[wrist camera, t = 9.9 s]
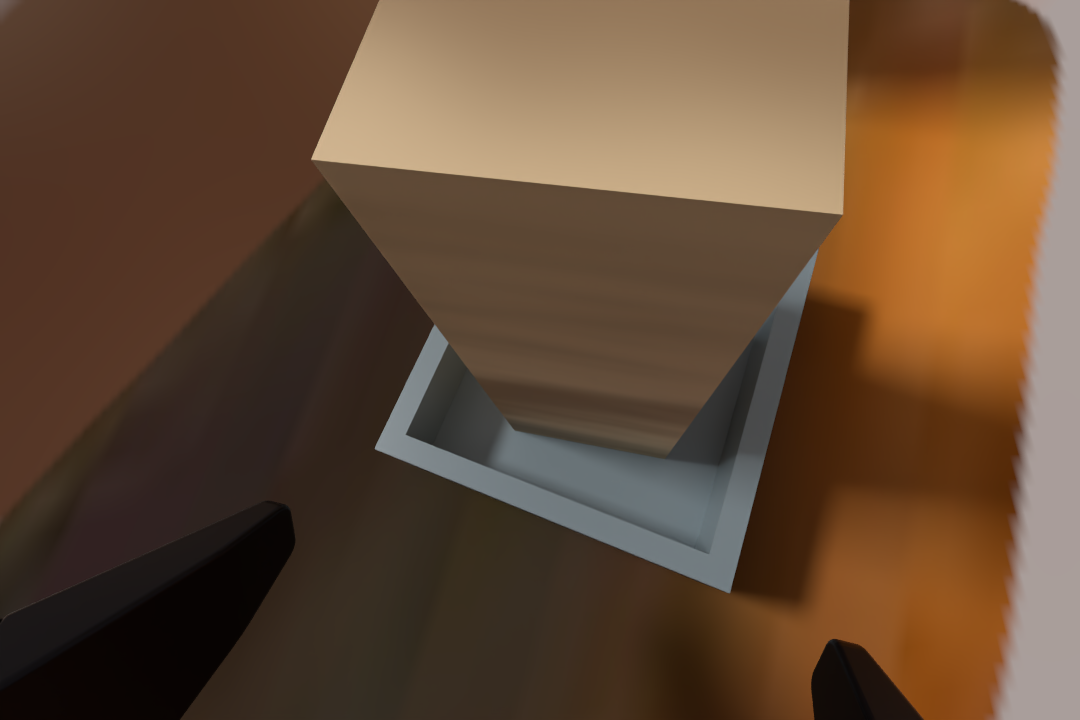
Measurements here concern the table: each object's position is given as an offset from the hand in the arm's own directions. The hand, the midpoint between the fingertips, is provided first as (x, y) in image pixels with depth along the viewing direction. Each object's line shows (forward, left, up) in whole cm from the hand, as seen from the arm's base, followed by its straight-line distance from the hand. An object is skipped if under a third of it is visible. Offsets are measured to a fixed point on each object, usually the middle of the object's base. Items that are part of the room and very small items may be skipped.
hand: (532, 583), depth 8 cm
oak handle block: (+6, -3, -8) cm, 10 cm away
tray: (+6, -3, -8) cm, 10 cm away
